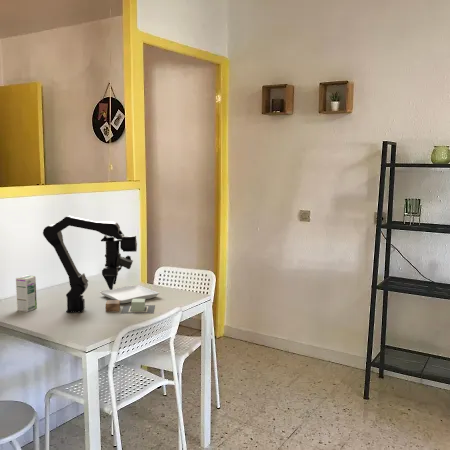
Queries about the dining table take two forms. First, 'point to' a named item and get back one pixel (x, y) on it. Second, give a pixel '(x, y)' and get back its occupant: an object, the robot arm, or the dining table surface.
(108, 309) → the walnut block
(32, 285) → the syrup box
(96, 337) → the dining table surface
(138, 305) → the sage block
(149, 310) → the mat
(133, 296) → the salad plate
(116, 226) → the robot arm
